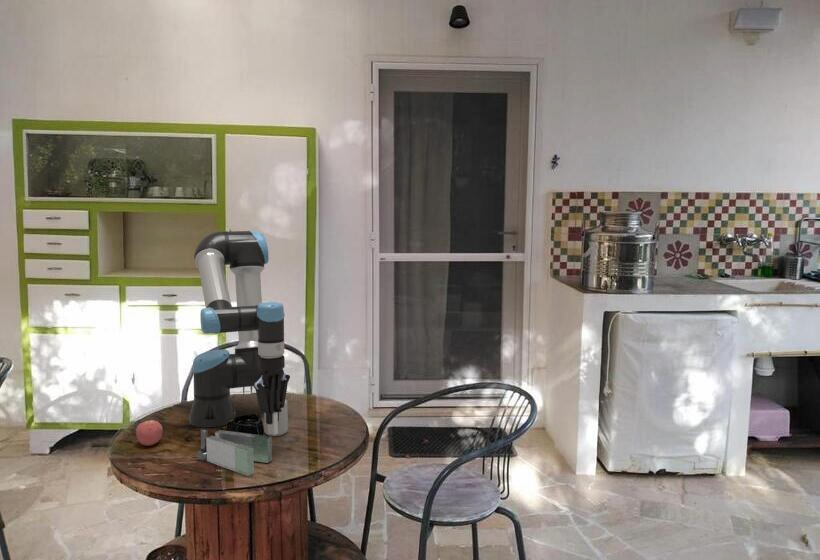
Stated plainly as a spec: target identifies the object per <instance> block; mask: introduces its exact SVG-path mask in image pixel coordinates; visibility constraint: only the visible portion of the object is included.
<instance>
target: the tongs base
mask: <svg viewBox="0 0 820 560" xmlns="http://www.w3.org/2000/svg"><path fill="white" fill-rule="evenodd" d="M196 454H197V461H200V462H208V463H211V464H213V465H215V466H216V465H217V466H218V467H221V468H224V469H227V470H230V471H233V472H235V473H236V474H240V475H242V476H246V477H249V476H251V475H253V474H255V472H254V471H255V470H254V469H255V467H254V466H255V465H254V462H255V461H254V456H253V448H251V447H248V446H245V445H242V444H240V445H239V444H236V443H233V442H230V441H227V440H224V439H221V438H218V437H215V435H210V436H209V435H208V428H202V429H200V449H199V450H198V451H197V452H196Z"/></svg>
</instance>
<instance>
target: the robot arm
mask: <svg viewBox="0 0 820 560" xmlns="http://www.w3.org/2000/svg"><path fill="white" fill-rule="evenodd" d="M269 258H270V257H269V247H268V242H267V239H266V237H265V236H264V234H263V233H262V232H261V231H251V230H243V231H242V230H241V231H239V230H235V231H234V230H233V231H224V230H223V231H222V230H220V231H215V232H211V233H210V234H208V235H206V236H205V237H203V238H202V239H201V241H199V243H198V244H197V245H196V248H195V250H194V253H193V261H194V265H195V267H196V269H197V270H198V271H199V277H200V282H201V289H202V294H203V299H204V301H203V302H204V306H205V308H201V310H200V314H199V315H200V330H201V331H202V332H203V334H223V333H235V332H238V344H237V345H236V346H235V347H234V353H230V351H229V350H227V349H213V350H208V351H203V352H202V353H199V354H198V355H196V356H195V357H194V359H193V365H192V373H193V402H192V404H191V409H190V412H189V415H188V423H189V424H190V425H191V426H193V427H197V428H218V427H222V426H226V425H228V424H227V423H228V422H229V421H230V420H232V419H234V418H235V417H236V418H237V415H236V414H237V413H236V412H237V411H236V409H235V406H234V403H233V401H232V397H231V389H240V388H248V387H253V388H254V389H255V393H256V399H257V402H258V407H259V411H260V412H261V413H263V414H264V413H266V423H267V424H268V434H271V435H276V434H278V421H279V412H281V411H282V410H281V408H283V407H284V404H285V399H286V397H287V391H288V390H287V389H288V386H289V385H288V383H289V381H290V379H291V375H290V374H286V373H285V371H284V369H285V363H286V362H285V359H286V357H285V356H284V354H285V311H284V310H285V309H284V304H283V303H281V302H277V301H266V302H263V298H262V296H263V295H262V281H261V273H262V272H263V270H265V265H267V264H268V263H269ZM224 266H229V271H230V272H231V273H233V274H234V275H235V276H234V278H235V295H236V296H235V297H236V306H232V301H231V297H230V294H229V293H230V292H229V288H228V284H227V279H226V275H225V270H224Z"/></svg>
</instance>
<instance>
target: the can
mask: <svg viewBox="0 0 820 560" xmlns="http://www.w3.org/2000/svg"><path fill="white" fill-rule="evenodd" d="M281 410H282V411H281V412H279V421H278V434H276V435H271V434H268V424H267V423H266V413H263V432H264V433H265V434H266V436H271V437H281V436H283V435H285V434H286V433H287V432H288V430H289V429H288V428H289V424H288V421H289V420H288V417H289V415H288V413H289V412H288V400H287V399H286V398H285V404H284V407H283V408H281Z"/></svg>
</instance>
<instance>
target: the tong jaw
mask: <svg viewBox="0 0 820 560" xmlns="http://www.w3.org/2000/svg"><path fill="white" fill-rule="evenodd" d="M214 436H215V437H218V438H221V439H224V440H227V441H230V442H233V443H236V444H239V445H240V444H242V445H245V446H248V447H251V448H253V456H254V462H258V463H265V464H266V463H267V464H269V463H270V462H271V461H272V460H273V457H272V453H273V452H272V451H273V450H272V447H273V446H272V444H273V443H272V436H269V435H265V434H263V435H262V434H253V433H247V432H239V431H232V430H231V431H230V430H224V429H222V430H221V429H218V430H216V431H215V432H214Z"/></svg>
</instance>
